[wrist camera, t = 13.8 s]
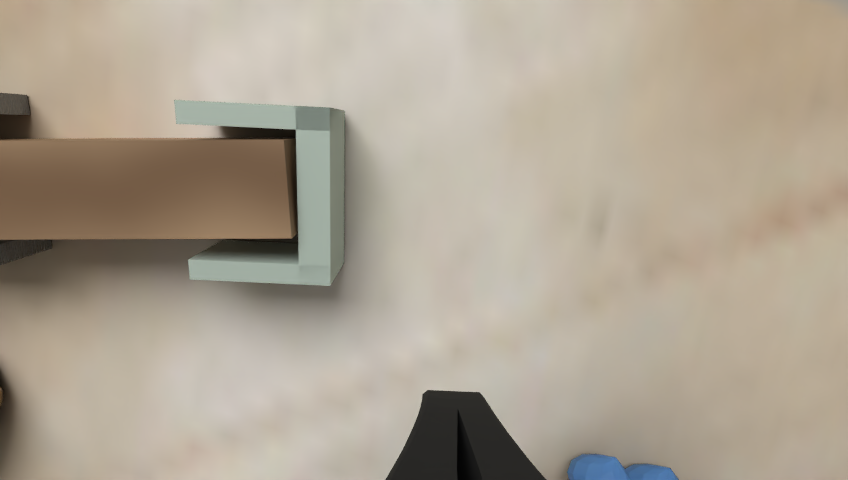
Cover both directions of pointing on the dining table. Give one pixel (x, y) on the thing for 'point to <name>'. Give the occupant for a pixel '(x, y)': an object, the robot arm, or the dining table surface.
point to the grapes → (614, 469)
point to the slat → (148, 188)
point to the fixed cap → (18, 249)
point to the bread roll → (1, 396)
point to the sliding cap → (315, 197)
